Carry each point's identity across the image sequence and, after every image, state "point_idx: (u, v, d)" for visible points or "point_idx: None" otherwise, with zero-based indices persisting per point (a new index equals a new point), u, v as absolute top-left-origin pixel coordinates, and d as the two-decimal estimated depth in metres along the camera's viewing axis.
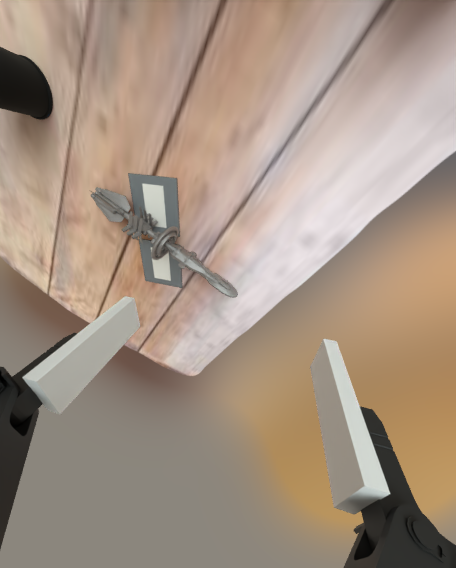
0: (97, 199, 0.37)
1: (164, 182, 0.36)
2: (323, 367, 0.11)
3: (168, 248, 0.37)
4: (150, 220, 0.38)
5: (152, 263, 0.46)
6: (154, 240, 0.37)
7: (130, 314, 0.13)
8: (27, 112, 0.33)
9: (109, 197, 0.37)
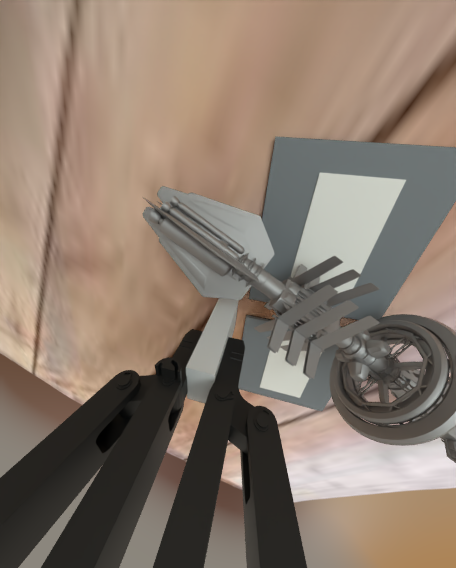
0: (170, 229, 0.10)
1: (419, 167, 0.10)
2: None
3: (405, 392, 0.11)
4: (342, 296, 0.11)
5: (265, 364, 0.20)
6: (367, 370, 0.11)
7: None
8: None
9: (206, 220, 0.11)
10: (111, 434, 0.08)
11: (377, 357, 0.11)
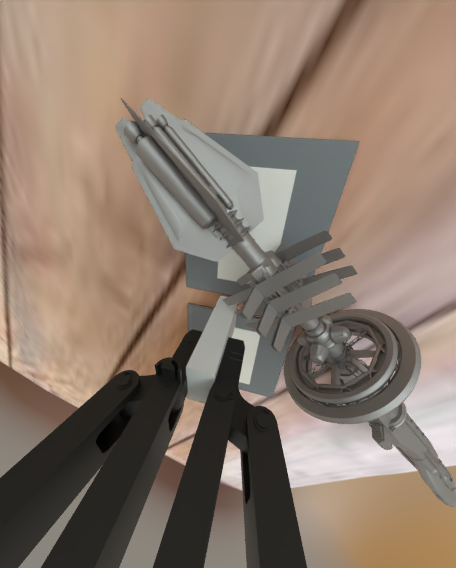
0: (151, 152, 0.08)
1: (305, 158, 0.11)
2: None
3: (352, 378, 0.12)
4: (318, 279, 0.11)
5: None
6: (326, 354, 0.11)
7: None
8: None
9: (197, 158, 0.09)
10: (111, 434, 0.08)
11: (337, 342, 0.11)
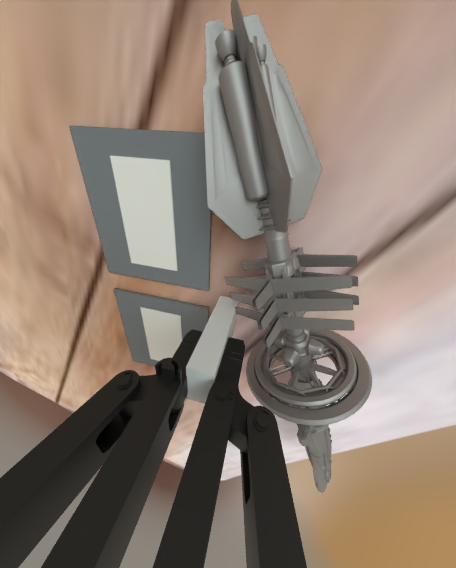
0: (238, 84, 0.07)
1: (174, 149, 0.12)
2: None
3: (304, 386, 0.13)
4: (320, 294, 0.12)
5: (145, 335, 0.22)
6: (297, 360, 0.12)
7: None
8: None
9: (275, 120, 0.08)
10: (111, 434, 0.08)
11: (310, 354, 0.12)
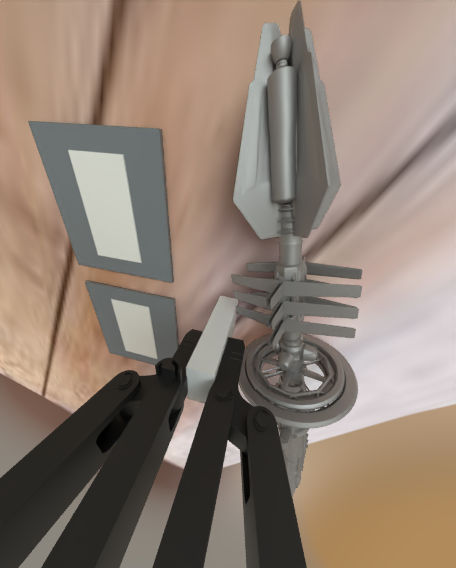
0: (288, 88, 0.07)
1: (126, 144, 0.13)
2: None
3: (293, 390, 0.14)
4: (319, 302, 0.12)
5: (118, 327, 0.22)
6: (292, 364, 0.12)
7: None
8: None
9: None
10: (111, 434, 0.08)
11: (304, 359, 0.12)
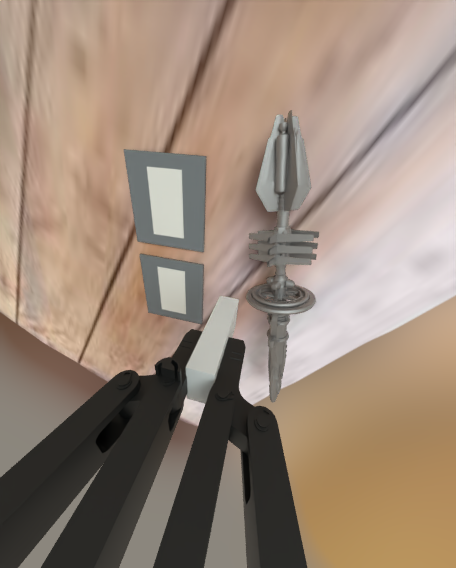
0: (284, 142, 0.16)
1: (184, 163, 0.22)
2: None
3: None
4: (298, 254, 0.21)
5: (159, 289, 0.31)
6: (279, 287, 0.21)
7: None
8: None
9: None
10: (111, 434, 0.08)
11: (286, 286, 0.21)
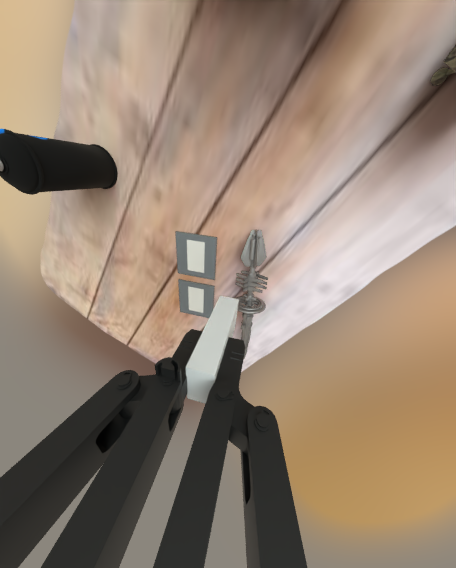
0: (254, 242, 0.38)
1: (206, 239, 0.44)
2: None
3: None
4: (259, 285, 0.44)
5: (188, 298, 0.54)
6: (248, 300, 0.44)
7: None
8: (98, 187, 0.41)
9: (259, 246, 0.40)
10: (111, 434, 0.08)
11: (252, 300, 0.44)
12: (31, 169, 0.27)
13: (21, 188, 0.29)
